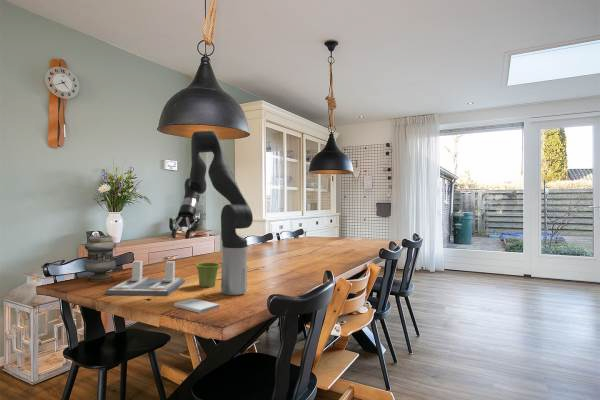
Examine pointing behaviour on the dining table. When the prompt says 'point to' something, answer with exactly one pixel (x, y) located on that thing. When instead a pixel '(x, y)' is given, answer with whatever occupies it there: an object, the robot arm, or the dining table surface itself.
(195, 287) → the dining table surface
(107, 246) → the apothecary jar
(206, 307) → the external hard drive
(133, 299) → the dining table surface
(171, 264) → the tab
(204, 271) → the plant pot
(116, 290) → the switch board
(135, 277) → the tab
